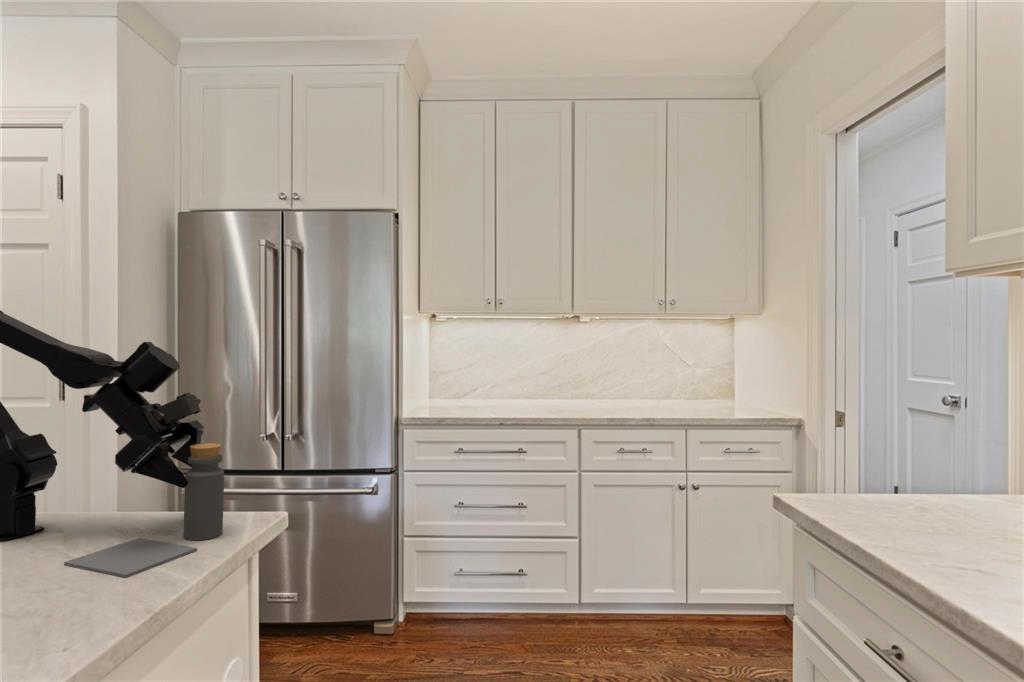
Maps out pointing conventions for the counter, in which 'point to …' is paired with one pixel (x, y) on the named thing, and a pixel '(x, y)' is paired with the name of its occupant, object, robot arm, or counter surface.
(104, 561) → the slate mat
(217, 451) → the bottle
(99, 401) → the robot arm
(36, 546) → the counter surface
